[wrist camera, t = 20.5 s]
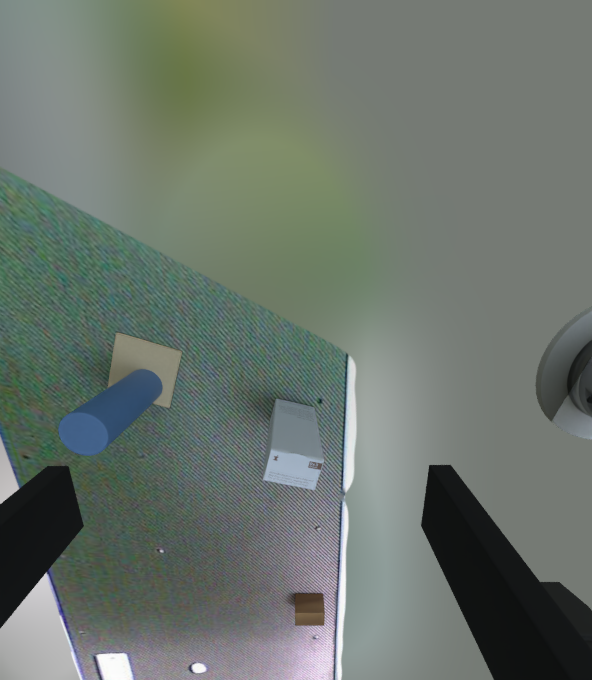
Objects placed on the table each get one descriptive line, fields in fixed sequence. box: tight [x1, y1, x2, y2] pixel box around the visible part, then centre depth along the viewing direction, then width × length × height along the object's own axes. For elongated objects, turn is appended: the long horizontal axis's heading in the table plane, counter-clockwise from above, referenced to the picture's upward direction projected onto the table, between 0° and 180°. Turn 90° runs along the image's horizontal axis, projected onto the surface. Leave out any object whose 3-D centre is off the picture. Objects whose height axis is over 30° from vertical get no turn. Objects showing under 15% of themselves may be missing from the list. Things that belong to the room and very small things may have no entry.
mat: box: [108, 332, 182, 408], centre depth 40 cm, size 9×9×1 cm
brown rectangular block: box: [295, 594, 325, 625], centre depth 50 cm, size 3×5×3 cm, turn 91°
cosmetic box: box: [263, 399, 324, 490], centre depth 36 cm, size 6×4×12 cm
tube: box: [58, 369, 163, 456], centre depth 34 cm, size 12×5×5 cm
